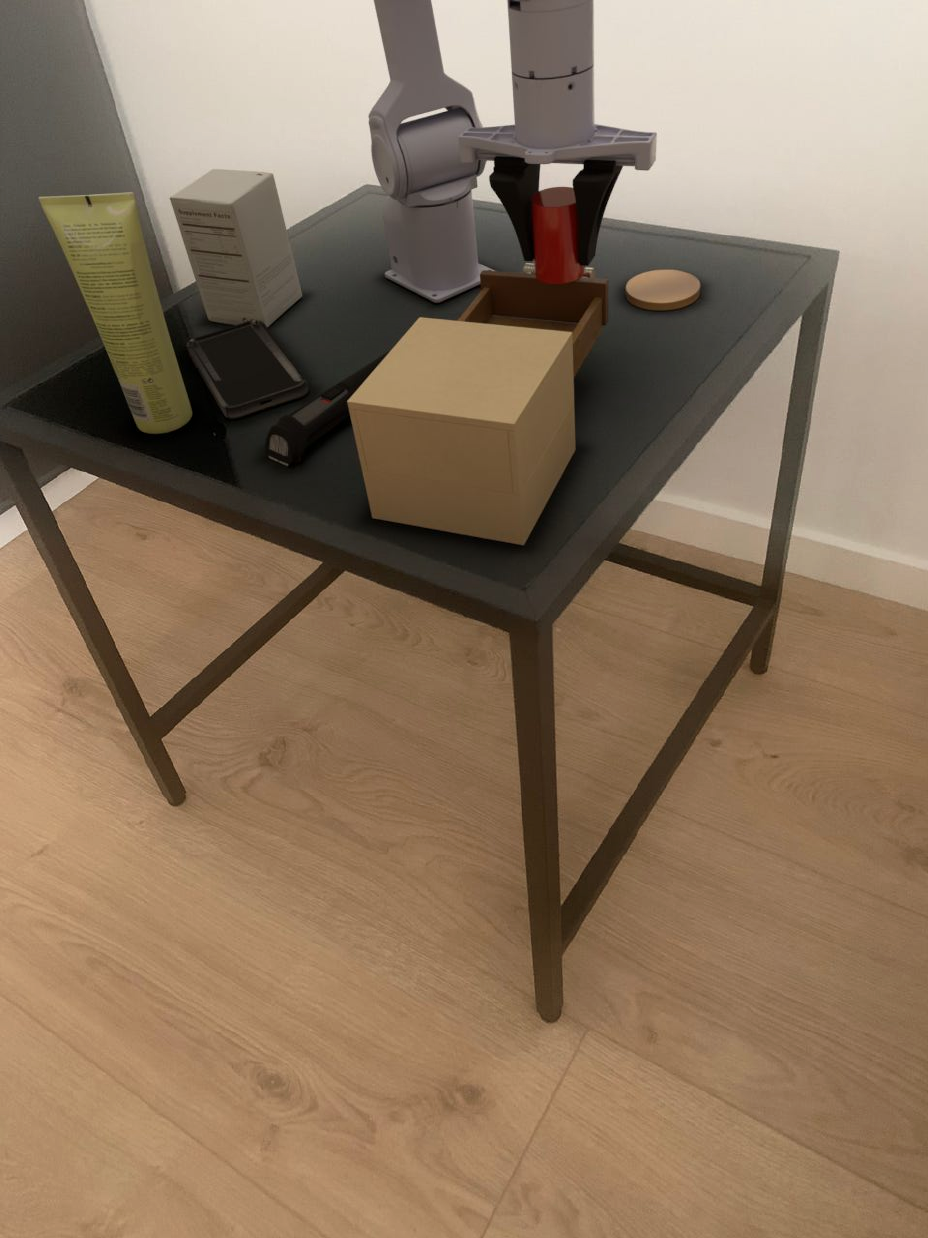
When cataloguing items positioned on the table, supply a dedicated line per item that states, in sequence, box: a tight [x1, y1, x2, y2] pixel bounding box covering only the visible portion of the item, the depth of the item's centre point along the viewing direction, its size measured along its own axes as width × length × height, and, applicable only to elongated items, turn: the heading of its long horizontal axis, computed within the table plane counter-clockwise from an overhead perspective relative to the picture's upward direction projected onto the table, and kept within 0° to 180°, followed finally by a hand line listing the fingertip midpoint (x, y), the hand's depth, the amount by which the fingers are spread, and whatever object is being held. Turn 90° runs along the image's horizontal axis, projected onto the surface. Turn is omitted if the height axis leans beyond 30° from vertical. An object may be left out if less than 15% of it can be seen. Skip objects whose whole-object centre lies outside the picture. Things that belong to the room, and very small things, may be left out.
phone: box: [185, 320, 309, 420], centre depth 88 cm, size 8×1×15 cm
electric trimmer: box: [264, 348, 393, 467], centre depth 80 cm, size 4×16×3 cm, turn 141°
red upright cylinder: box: [531, 186, 586, 284], centre depth 74 cm, size 4×4×6 cm
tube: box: [38, 191, 193, 435], centre depth 77 cm, size 6×5×20 cm
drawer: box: [456, 262, 609, 378], centre depth 77 cm, size 16×11×4 cm
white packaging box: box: [169, 168, 303, 329], centre depth 94 cm, size 7×7×13 cm
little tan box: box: [347, 316, 577, 546], centre depth 69 cm, size 12×12×10 cm
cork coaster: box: [625, 269, 701, 312], centre depth 91 cm, size 7×7×1 cm
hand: (559, 257), depth 75 cm, fingers closed on red upright cylinder, 4 cm apart
